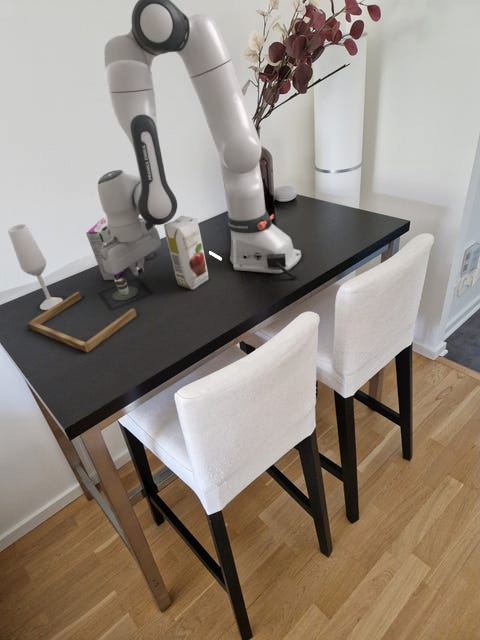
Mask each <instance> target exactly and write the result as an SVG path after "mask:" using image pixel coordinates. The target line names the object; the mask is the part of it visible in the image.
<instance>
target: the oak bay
mask: <svg viewBox="0 0 480 640" xmlns="http://www.w3.org/2000/svg"><path fill="white" fill-rule="evenodd" d="M82 299H83V297H82V295H81V292H80V291H77V292H75V293H73V294H72V295H70V296H68V297H66V298H65V299H63V301H62V302H60V303H59V304H57V305H55V306H54V307H52V308H50V309H49V310H45V311H44V312H42V313H41V314H39V315H38V316H35V318H33V319H31V320H29V321H28V322H27V323H26V324H27V326H28V328H29V329H30V330H31V331H34V332H36V333H39V334H41V335H44V336H46V337H49V338H51V339H54V340H56V341H58V342H61V343H63V344H65V345H68V346H70V347H73V348H74V349H77V350H80V351H81V352H82V351H83V352H85V353H86V354H87V353H89V352H90V351H93V349H95V348H96V347H97V346H99V345H100V344H102V342H104V341H105V340H106V339H107V338H109V337H110V336H112V335H114V333H116V332H117V331H118V330H120V329H121V328H123V327H124V326H125V325H126V324H128V323H129V322H131V321H132V320H133V319H134V318H136V317H137V316H138V314H137V312H136V309H135V308H130V309H129V310H127V312H125V313H124V314H122V315H121V316H120V317H118V318H117V319H115V320H114V321H113V322H111V323H110V324H109V325H107V326H106V327H104V328H103V329H102V330H100V331H99V332H98V333H96V334H95V335H94V336H92V337H91V338H89V339H87V341H86V342H85V341H83V340H81V339H79V338H78V339H77V338H76V337H72V336H70V335H68V334H65V333H63V332H60V331H58V330H55V329H53V328H50V327H47V326H45V325H43V324H44V323H45V322H47V321H49V320H50V319H52V318H53V317H55V316H56V315H59V314H60V313H62V312H63V311H64V310H66V309H68V308H69V307H71V306H72V305H74V304H75V303H77V302H78V301H80V300H82Z"/></svg>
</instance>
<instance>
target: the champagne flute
mask: <svg viewBox="0 0 480 640" xmlns="http://www.w3.org/2000/svg"><path fill="white" fill-rule="evenodd" d="M7 233H8V235H9V238H10V241H11V243H12V246H13V250H14V252H15V256H16V258H17V261H18V263H19V266H20V269H21V270H22V271H23V273H26V274H28V275H31V276H34V277H36V278H37V281H38V283H39V285H40V287H41V289H42V291H43V293H44V296H45V300H44V301H43V302H42V303H41V304H40V305H39V309H40V310H43V311H47V310H49V309H50V308H52V307H54V306H55V305H57V304H59V303H60V302H62V301H63V300H64V299H63V298H62V297H56V296H51V295H50V292H49V289H48V288H47V286H46V283H45V281H44V278H43V277H42V274H43V273H44V271H45V269H46V267H47V260H46V258H45V256H44V255H43V253H42V251H41V249H40V247H39V244H37V242H36V240H35V238H34V237H33V235H32V233H31V231H30V229H29V228H28V225H27V224H25V223H22V224H16V225H12V226H11V227H8V229H7Z"/></svg>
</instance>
